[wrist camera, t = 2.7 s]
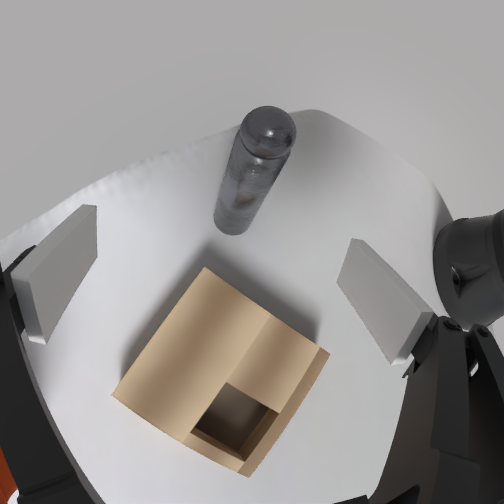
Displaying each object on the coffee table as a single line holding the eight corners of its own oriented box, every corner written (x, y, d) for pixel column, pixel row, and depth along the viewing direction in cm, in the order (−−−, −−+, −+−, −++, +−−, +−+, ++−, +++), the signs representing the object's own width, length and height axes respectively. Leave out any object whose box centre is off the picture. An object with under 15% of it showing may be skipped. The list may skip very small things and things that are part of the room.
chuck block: (314, 353, 25) (330, 354, 22) (241, 464, 20) (248, 477, 18) (202, 275, 25) (204, 266, 22) (119, 389, 20) (111, 394, 17)
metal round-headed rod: (257, 215, 28) (315, 117, 15) (237, 242, 26) (287, 149, 14) (228, 194, 28) (265, 86, 15) (206, 220, 26) (231, 113, 14)
